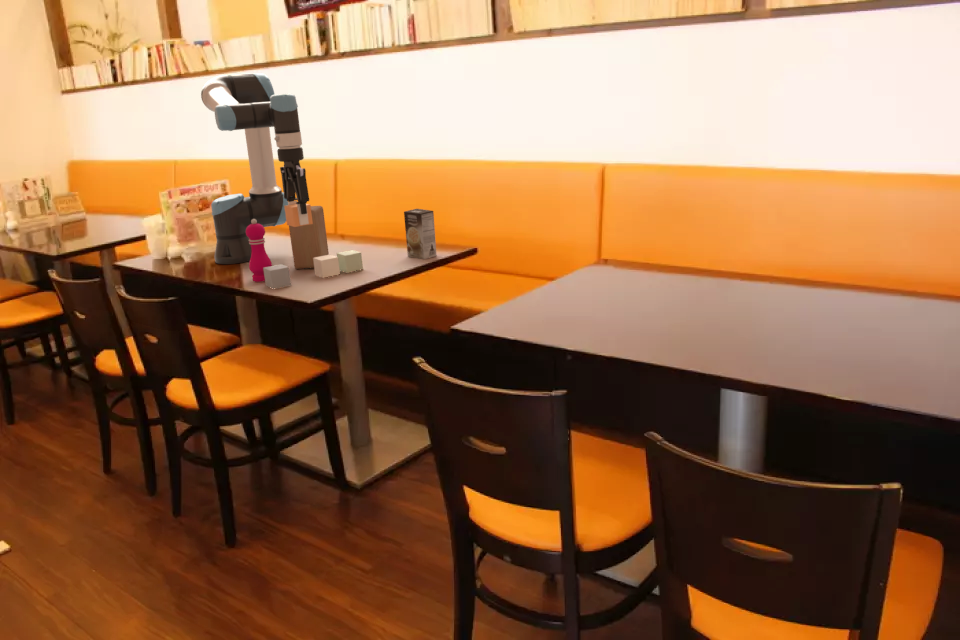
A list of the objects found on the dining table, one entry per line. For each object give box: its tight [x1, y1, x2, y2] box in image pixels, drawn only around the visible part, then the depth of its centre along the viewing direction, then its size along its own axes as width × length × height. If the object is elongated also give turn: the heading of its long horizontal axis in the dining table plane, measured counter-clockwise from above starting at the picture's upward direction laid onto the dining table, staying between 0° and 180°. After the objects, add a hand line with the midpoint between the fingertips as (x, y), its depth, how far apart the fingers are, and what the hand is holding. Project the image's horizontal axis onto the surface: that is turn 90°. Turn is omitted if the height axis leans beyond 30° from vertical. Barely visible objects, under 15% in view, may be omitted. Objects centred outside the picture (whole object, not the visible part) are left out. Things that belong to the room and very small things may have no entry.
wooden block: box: [288, 205, 330, 270], centre depth 263 cm, size 10×10×20 cm
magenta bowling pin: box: [246, 219, 273, 283], centre depth 248 cm, size 7×7×20 cm
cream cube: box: [313, 254, 341, 279], centre depth 251 cm, size 6×6×6 cm
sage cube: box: [336, 249, 364, 274], centre depth 255 cm, size 6×6×6 cm
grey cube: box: [263, 263, 292, 290], centre depth 241 cm, size 6×6×6 cm
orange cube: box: [284, 203, 313, 227], centre depth 238 cm, size 6×6×6 cm
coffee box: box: [403, 208, 437, 260], centre depth 267 cm, size 9×6×16 cm
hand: (299, 223), depth 239 cm, fingers closed on orange cube, 6 cm apart
